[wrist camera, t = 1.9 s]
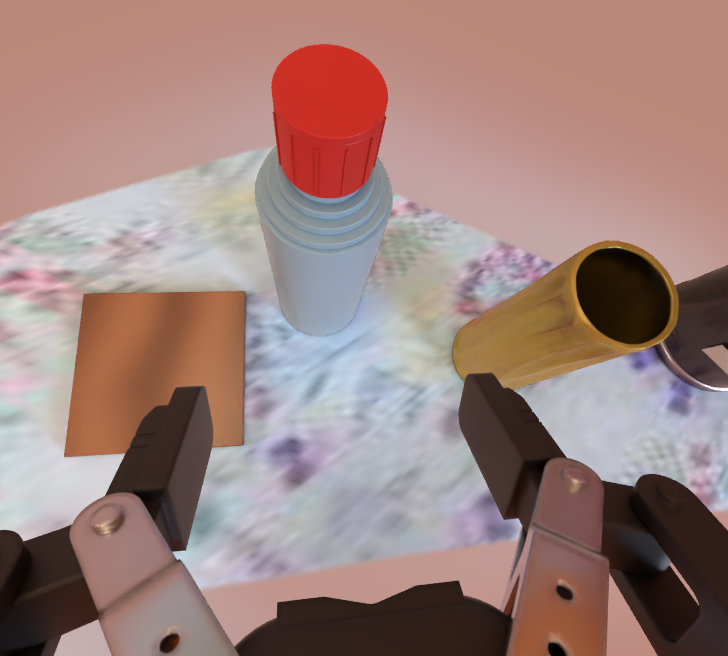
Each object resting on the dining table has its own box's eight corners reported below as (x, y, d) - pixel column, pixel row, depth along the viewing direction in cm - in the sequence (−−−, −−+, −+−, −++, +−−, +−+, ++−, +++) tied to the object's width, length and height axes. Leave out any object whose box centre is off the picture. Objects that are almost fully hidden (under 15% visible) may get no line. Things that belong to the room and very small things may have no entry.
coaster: (245, 293, 30) (244, 291, 30) (243, 445, 28) (242, 445, 27) (87, 295, 29) (83, 293, 28) (68, 456, 26) (63, 457, 26)
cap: (370, 121, 16) (383, 47, 13) (376, 200, 15) (392, 140, 12) (279, 117, 16) (270, 39, 13) (279, 199, 15) (271, 136, 12)
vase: (541, 361, 32) (714, 303, 18) (490, 412, 30) (636, 390, 17) (489, 303, 33) (616, 206, 19) (435, 350, 31) (532, 281, 17)
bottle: (356, 262, 32) (413, 32, 14) (360, 335, 31) (431, 184, 12) (279, 262, 31) (234, 20, 13) (280, 337, 30) (230, 179, 12)
